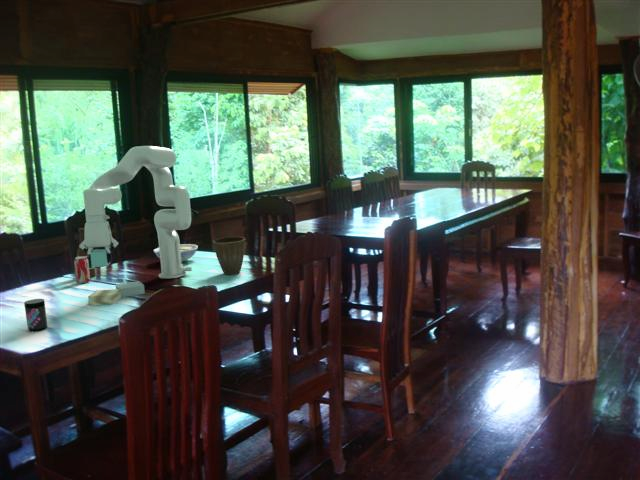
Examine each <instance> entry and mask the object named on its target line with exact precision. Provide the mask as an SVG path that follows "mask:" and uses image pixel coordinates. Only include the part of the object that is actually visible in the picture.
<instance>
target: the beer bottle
mask: <svg viewBox="0 0 640 480" xmlns="http://www.w3.org/2000/svg"><path fill="white" fill-rule="evenodd" d="M77 231H78V234H79V235H78V237H79V245H80V244H81V243H82V242H83V241H84V239H85V227H80V228H78V230H77ZM84 246H85V245H84ZM85 247H86V246H85ZM86 248H88V247H86ZM88 249H89V248H88ZM93 250H94V249H93ZM93 250H92V251H93ZM81 256H86V258H87V259H88V263H89V272H90V279H93V278H95V277H97V271H96V270H97V269H96V268H97V267H92V264H91V262H89V255H88V254H87V253H86V252H85V251H84V250H83V249H81V248H80V247H79V246H78V248H77V250H76V257H81Z"/></svg>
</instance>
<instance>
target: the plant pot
mask: <svg viewBox="0 0 640 480" xmlns="http://www.w3.org/2000/svg"><path fill="white" fill-rule="evenodd" d="M212 243H213V249H214V251H215V255H216V259H217V261H218V264H219V267H220V268H221V270H222V273H223V274H224V275H225V276H233V275H234V276H235V275H238V274H241V270H242V267H243V262H244V257H245V247H246V238H245V237H242V236H228V237H222V238H217V239H214V240H212Z"/></svg>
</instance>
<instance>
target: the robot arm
mask: <svg viewBox="0 0 640 480" xmlns="http://www.w3.org/2000/svg"><path fill="white" fill-rule="evenodd" d="M176 162H177V155H176V153H175V151H174V150H173V149H170V148H168V147H162V146H161V147H160V146H153V145H141V146H134V147H131V148H130V149H129V150H128V151H127V152H126V153H125V155H124V156H123V157H122V158H121V159H120V161H119V162H118V163H117V164H116V166H115V167H113V168H111V169H109V170H107V171H105V173H103V174H101V175H100V176H98V177H97V178H96V179H95V180H94V181H93V182H92V184H91V185H90V186H89V188H87V189H84V191H82V194H83V202H84V204H83V205H84V212H85V221H86V222H85V223H84V228H85V239H84V241H83V242H82V243H81V244H80V243H79V246H78V247H80V248H81V249H83V250H84V251H85V252H86V253H87V254H88V255H89V262H91V255H90V252H92V250H94V248H104V249H106V250H107V262H108V263H110V264H111V262H112V261H113V257H112V255H113V254H112V252H113V251H114V249H116V247H117V246H118V245H119V242H118V241H117V240H116V239H115V238H113V235H112V231H111V225H110V223H109V221H107V220H108V219H109V220H110V215H107V214H106V207H105V205H115V204H118V203H119V202H120V201H121V199H122V191H121V190H120V188H118V186H120V185H124V184H126V183H128V182H130V181H132V180H133V179H134V178H135V176H136V175H137V174H138V172H139V171H140V170H141V169H142V167H145V168H146V169H147V170H148V171H149V173H150V174H151V176H152V179H153V186H154V196H155V197H154V198H155V201H156V202H155V203H156V204H157V205H158V206H161V207H175V208H164V209H160V210H158V211H156V212H155V214H154V217H153V221H154V227H155V229H156V232H157V239H158V248H159V250H160V258H159V260H160V269H161V273H159V274H158V278H160V279H163V280H165V279H166V280H167V279H176V278H181V277H182V278H183V277H184V276H186V275H187V272H192V271H193V269H192V266H184V264H183V262H182V263H181V252H180V244H181V243H180V241H181V240H180V236H179V234H178V232H177V231H184V230H187V229H189V228H190V226H191V224H192V210H191V200H190V193H189V191H188V189H187V188H186V187H185V186H183V185H174V181H173V174H172V171H171V170H170V168H172V167H174V166H175V164H176ZM112 244H113V245H112ZM84 245H85V246H86V247H88V248H89V249H88V248H86V247H85V246H84Z"/></svg>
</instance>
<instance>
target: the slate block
mask: <svg viewBox="0 0 640 480" xmlns="http://www.w3.org/2000/svg"><path fill="white" fill-rule="evenodd" d="M115 289H120V292H121V298H127V297H132V296H133V297H134V296H139V295H144V294H145V293H146V292H145V284H143V283H142V282H141V281H139V280H136V281H131V282H124V283H117V284H115Z"/></svg>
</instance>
